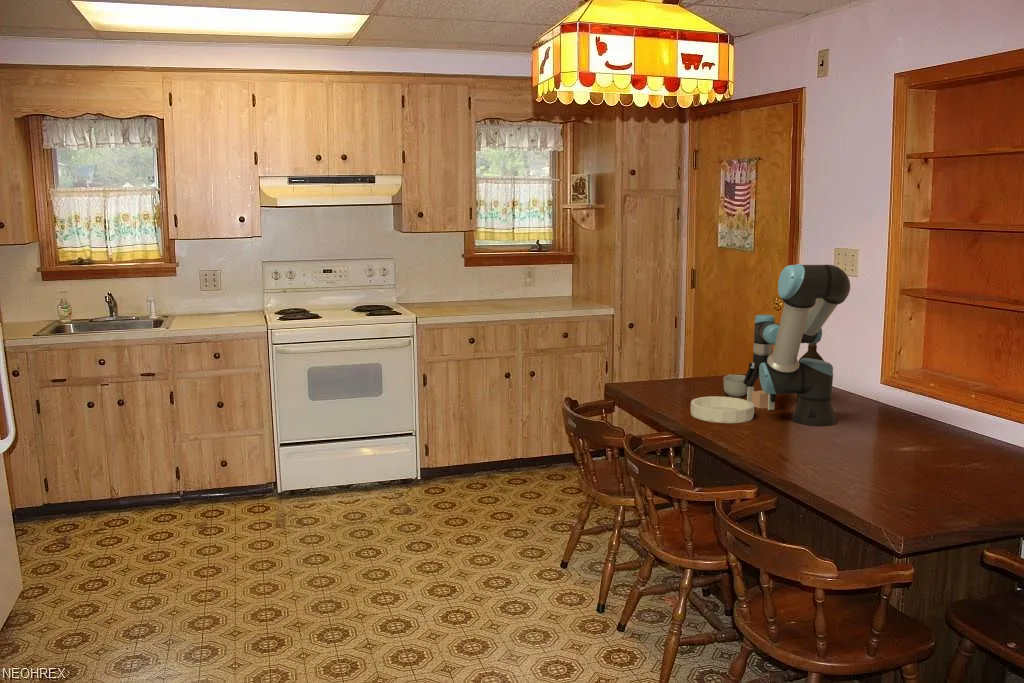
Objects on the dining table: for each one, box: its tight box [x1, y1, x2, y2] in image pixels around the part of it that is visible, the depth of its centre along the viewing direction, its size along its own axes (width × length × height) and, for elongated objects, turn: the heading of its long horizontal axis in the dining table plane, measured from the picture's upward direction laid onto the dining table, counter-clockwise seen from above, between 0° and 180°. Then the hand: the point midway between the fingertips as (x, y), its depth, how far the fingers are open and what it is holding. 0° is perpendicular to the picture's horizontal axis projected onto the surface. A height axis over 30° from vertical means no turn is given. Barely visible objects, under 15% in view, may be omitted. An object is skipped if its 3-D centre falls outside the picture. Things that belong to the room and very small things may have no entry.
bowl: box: [690, 395, 755, 424], centre depth 336 cm, size 23×23×5 cm
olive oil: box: [796, 343, 825, 402], centre depth 357 cm, size 11×11×25 cm
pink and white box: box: [752, 390, 768, 409], centre depth 351 cm, size 5×5×6 cm
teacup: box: [722, 374, 748, 398], centre depth 372 cm, size 14×11×8 cm
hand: (760, 406), depth 351 cm, fingers open, 12 cm apart
